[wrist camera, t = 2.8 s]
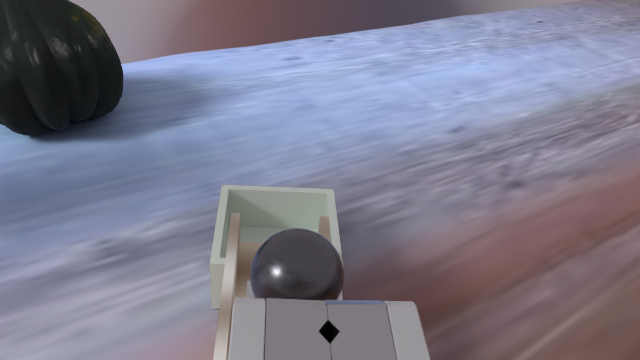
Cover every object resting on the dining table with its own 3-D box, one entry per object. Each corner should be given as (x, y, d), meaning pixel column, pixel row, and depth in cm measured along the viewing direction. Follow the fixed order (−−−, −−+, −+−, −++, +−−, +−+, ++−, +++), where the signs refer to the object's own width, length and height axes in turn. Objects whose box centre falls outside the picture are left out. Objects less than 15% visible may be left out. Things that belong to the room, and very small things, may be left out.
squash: (138, 102, 53) (100, -47, 54) (-41, 132, 47) (-82, -36, 48) (130, 133, 66) (99, 13, 67) (-11, 159, 60) (-44, 27, 61)
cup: (336, 311, 41) (343, 267, 39) (211, 308, 40) (209, 263, 38) (328, 230, 49) (333, 189, 46) (222, 226, 48) (221, 184, 45)
